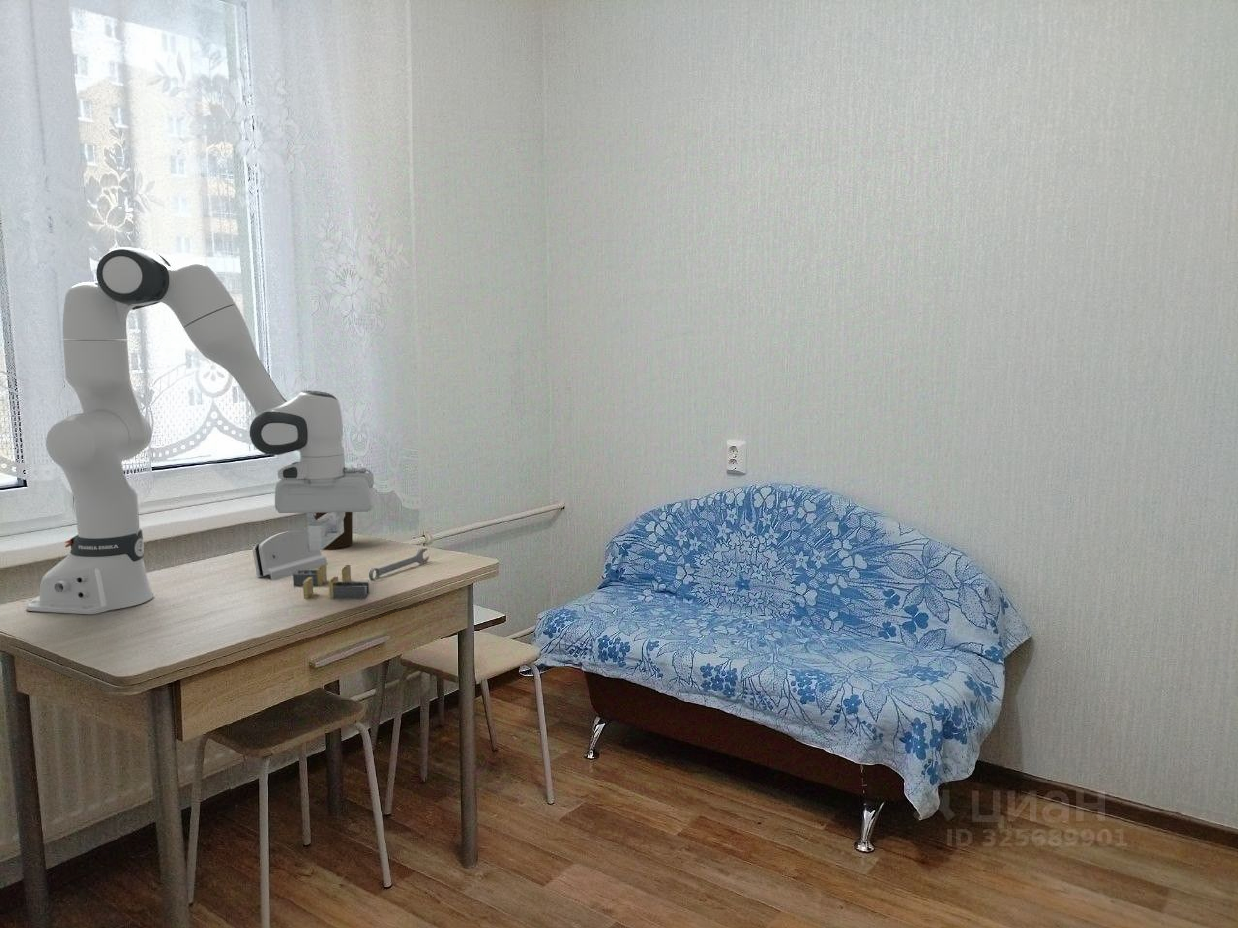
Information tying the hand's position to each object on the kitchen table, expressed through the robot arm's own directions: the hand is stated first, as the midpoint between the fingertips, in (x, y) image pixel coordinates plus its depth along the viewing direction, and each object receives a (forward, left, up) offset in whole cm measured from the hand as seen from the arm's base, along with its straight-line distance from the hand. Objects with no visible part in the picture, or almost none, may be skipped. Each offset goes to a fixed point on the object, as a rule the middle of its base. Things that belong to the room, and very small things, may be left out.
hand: (327, 532), depth 200 cm
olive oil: (-10, +41, -13) cm, 44 cm away
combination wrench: (+12, +15, -13) cm, 23 cm away
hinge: (-14, +17, -13) cm, 25 cm away
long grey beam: (0, 0, -2) cm, 2 cm away
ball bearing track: (0, 0, -12) cm, 12 cm away
